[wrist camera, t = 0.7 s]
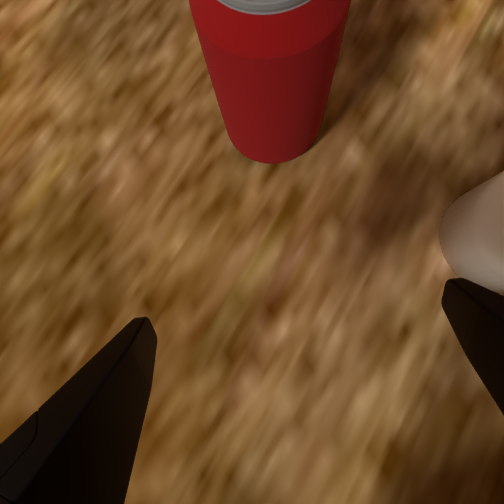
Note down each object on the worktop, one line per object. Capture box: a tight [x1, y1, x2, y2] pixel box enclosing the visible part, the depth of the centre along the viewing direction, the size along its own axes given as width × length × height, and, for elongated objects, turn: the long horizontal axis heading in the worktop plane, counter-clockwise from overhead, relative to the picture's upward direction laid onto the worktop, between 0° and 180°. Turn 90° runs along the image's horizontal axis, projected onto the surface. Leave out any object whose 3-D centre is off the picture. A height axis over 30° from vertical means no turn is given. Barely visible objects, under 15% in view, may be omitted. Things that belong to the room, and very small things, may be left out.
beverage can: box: [189, 0, 351, 164], centre depth 17 cm, size 7×7×12 cm
